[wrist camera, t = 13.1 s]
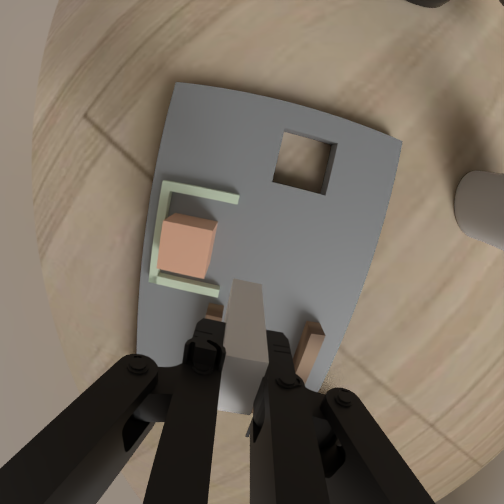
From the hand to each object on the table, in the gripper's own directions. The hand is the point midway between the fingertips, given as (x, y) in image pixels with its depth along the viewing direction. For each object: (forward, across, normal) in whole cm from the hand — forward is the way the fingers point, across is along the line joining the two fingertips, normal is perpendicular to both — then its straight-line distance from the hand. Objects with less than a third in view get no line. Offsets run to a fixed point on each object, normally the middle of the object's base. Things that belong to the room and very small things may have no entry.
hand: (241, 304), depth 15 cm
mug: (+14, +28, +12) cm, 34 cm away
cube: (+12, -5, 0) cm, 13 cm away
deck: (+14, +2, -2) cm, 14 cm away
